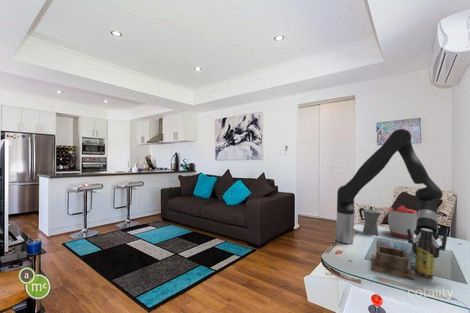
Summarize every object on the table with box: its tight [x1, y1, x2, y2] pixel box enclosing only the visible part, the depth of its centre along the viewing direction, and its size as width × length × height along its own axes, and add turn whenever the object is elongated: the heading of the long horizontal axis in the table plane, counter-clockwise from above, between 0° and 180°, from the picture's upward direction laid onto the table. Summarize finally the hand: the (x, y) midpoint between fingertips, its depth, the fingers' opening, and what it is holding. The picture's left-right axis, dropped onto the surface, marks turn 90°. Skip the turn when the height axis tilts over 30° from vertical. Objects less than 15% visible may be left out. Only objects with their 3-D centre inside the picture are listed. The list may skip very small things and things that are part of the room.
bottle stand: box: [371, 244, 415, 281], centre depth 105 cm, size 15×16×7 cm
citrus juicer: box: [387, 205, 418, 239], centre depth 152 cm, size 16×17×20 cm
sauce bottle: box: [414, 228, 436, 279], centre depth 99 cm, size 7×6×20 cm
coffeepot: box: [358, 206, 382, 236], centre depth 155 cm, size 15×9×18 cm, turn 25°
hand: (425, 254), depth 98 cm, fingers closed on sauce bottle, 6 cm apart
